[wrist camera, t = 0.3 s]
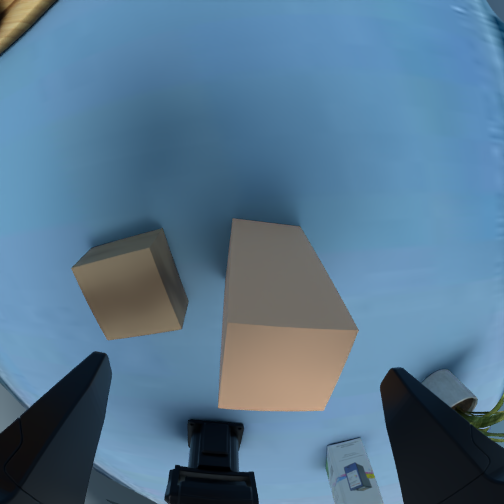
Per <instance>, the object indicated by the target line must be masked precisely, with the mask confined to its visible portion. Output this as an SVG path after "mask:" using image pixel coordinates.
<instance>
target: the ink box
mask: <svg viewBox="0 0 504 504" xmlns="http://www.w3.org/2000/svg"><path fill="white" fill-rule="evenodd" d="M326 471H327V475H328V479H329V483H330V487H331V490H332V494H333V498H334V502H335V504H384V503H383V500H382V496H381V494H380V491H379V488H378V485H377V482H376V479H375V476H374V473H373V470H372V467H371V464H370V461H369V459H368V456H367V453H366V450H365V448H364V445H363V442H362V440H361V438H358V439H354V440H350V441H346V442H342V443H338V444H333V445H329V446H328V447H327V461H326Z"/></svg>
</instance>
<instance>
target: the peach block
mask: <svg viewBox="0 0 504 504" xmlns="http://www.w3.org/2000/svg"><path fill="white" fill-rule="evenodd" d="M357 333H358V328H357V326H356V324H355V323H354V321H353V319H352V317H351V315H350V313H349V311H348V310H347V308H346V306H345V304H344V302H343V300H342V299H341V297H340V295H339V293H338V291H337V290H336V288H335V286H334V284H333V282H332V281H331V279H330V277H329V275H328V273H327V272H326V270H325V268H324V266H323V265H322V263H321V261H320V259H319V258H318V256H317V254H316V253H315V251H314V249H313V247H312V246H311V244H310V242H309V241H308V239H307V237H306V235H305V234H304V232H303V230H302V229H301V227H300V226H292V225H285V224H277V223H268V222H260V221H252V220H243V219H234V218H233V219H232V227H231V235H230V244H229V253H228V261H227V270H226V279H225V293H224V308H223V324H222V341H221V359H220V377H219V398H218V408H222V409H236V410H255V411H324V409H325V407H326V404H327V402H328V400H329V398H330V396H331V394H332V392H333V390H334V387H335V385H336V383H337V381H338V379H339V376H340V374H341V372H342V370H343V367H344V365H345V363H346V360H347V358H348V355H349V353H350V351H351V348H352V346H353V343H354V341H355V338H356V336H357Z"/></svg>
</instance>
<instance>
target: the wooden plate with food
mask: <svg viewBox="0 0 504 504" xmlns="http://www.w3.org/2000/svg"><path fill="white" fill-rule="evenodd" d="M55 1H56V0H0V54H1V53H2V52H3V51H4V50H6V49H7V48H8V47H9V46H10V45H11V44H12V43H14V42H15V41H16V40H17V39H18V38H19V37H20V36H21V35H22V34H23V33H24V32H25V31H26V30H27V29H29V28H30V27H31V26H32V25H33V24H34V23H35V21H36V20H37V19H38V18H39V17H40V16H41V15H42V14H43V13H44V12H45V11H46V10H47V9H48V8H49V7H50V6H51V5H52V4H53V3H54V2H55Z"/></svg>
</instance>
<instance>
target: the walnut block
mask: <svg viewBox="0 0 504 504" xmlns="http://www.w3.org/2000/svg"><path fill="white" fill-rule="evenodd" d="M71 269H72V271H73V273H74V275H75V278H76V280H77V282H78V284H79V286H80V288H81V290H82V293H83V295H84V297H85V299H86V301H87V303H88V305H89V307H90V309H91V311H92V313H93V315H94V316H95V318H96V320H97V322H98V324H99V326H100V328H101V329H102V331H103V333H104V335H105V337H106V338H107V340H114V339H122V338H129V337H136V336H142V335H149V334H156V333H162V332H168V331H174V330H180V329H182V326H183V322H184V318H185V314H186V310H187V306H188V302H189V301H188V299H187V296H186V293H185V291H184V288H183V285H182V282H181V280H180V277H179V274H178V271H177V269H176V266H175V263H174V260H173V257H172V254H171V251H170V249H169V246H168V243H167V240H166V237H165V234H164V231H163V228H161V229H158V230H154V231H150V232H146V233H143V234H139V235H135V236H132V237H128V238H124V239H121V240H117V241H114V242H110V243H107V244H103V245H100V246H96V247H93V248H91V249H90V250H89V251H88V252H87V253H86V254H85V255H84V256H83V257H82V258H81V259H80V260H79V261H78V262H77V263H76V264H75V265H74V266H73V267H72V268H71Z"/></svg>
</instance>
